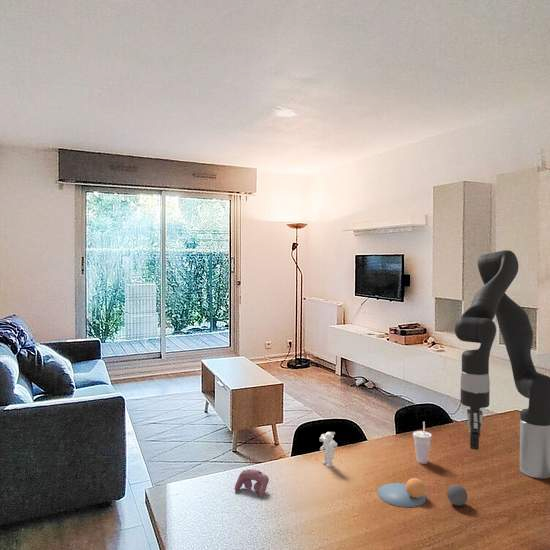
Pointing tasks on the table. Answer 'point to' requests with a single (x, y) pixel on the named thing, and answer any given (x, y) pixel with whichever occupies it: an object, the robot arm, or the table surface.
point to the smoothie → (422, 445)
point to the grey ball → (457, 495)
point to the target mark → (399, 495)
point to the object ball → (415, 488)
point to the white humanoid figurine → (328, 448)
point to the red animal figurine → (252, 475)
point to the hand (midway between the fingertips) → (474, 448)
